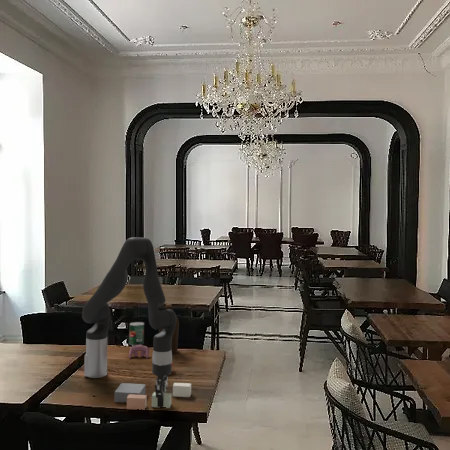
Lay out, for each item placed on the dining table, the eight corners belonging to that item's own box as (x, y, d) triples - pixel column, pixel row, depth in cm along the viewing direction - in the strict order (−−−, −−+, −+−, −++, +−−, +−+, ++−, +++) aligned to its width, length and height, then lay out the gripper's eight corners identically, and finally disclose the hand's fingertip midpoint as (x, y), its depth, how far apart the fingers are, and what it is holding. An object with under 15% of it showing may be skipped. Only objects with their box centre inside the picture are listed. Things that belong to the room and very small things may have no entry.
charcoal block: (114, 401, 209) (114, 392, 209) (121, 392, 219) (121, 383, 219) (139, 403, 208) (139, 393, 208) (145, 393, 218) (145, 384, 218)
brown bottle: (165, 355, 269) (165, 307, 268) (154, 350, 278) (154, 303, 276) (182, 352, 276) (183, 304, 275) (171, 347, 284) (171, 301, 283)
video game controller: (149, 359, 268) (149, 345, 271) (148, 358, 264) (149, 343, 266) (129, 359, 267) (130, 345, 270) (128, 358, 263) (129, 343, 266)
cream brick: (172, 396, 216) (172, 385, 216) (174, 393, 220) (174, 382, 219) (189, 397, 216) (189, 386, 215) (191, 394, 219) (191, 383, 219)
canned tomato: (126, 344, 289) (126, 324, 288) (135, 340, 296) (135, 321, 295) (138, 346, 285) (138, 326, 285) (146, 342, 292) (147, 323, 291)
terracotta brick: (126, 409, 203) (126, 397, 202) (128, 405, 206) (129, 394, 206) (144, 410, 202) (145, 398, 202) (146, 406, 206) (146, 395, 205)
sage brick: (151, 406, 205) (151, 395, 205) (153, 403, 208) (153, 392, 208) (169, 408, 204) (169, 396, 204) (171, 404, 208) (171, 393, 208)
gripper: (156, 355, 213) (155, 397, 214) (148, 366, 199) (147, 411, 200) (175, 356, 212) (174, 398, 213) (168, 367, 198) (167, 412, 199)
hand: (161, 404), depth 206 cm, fingers closed on sage brick, 3 cm apart
